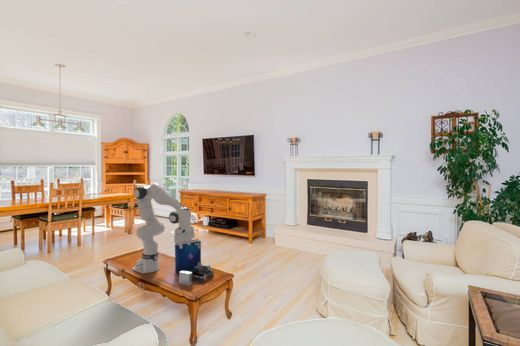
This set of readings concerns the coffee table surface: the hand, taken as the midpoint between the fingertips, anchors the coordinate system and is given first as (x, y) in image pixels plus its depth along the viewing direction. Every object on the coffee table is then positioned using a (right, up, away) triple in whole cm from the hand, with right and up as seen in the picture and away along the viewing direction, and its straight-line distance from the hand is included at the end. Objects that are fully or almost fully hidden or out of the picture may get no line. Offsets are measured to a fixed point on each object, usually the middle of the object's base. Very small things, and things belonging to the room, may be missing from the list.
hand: (185, 246), depth 201 cm
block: (+1, -27, -3) cm, 28 cm away
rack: (+10, -27, +9) cm, 30 cm away
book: (-4, -27, +22) cm, 35 cm away
